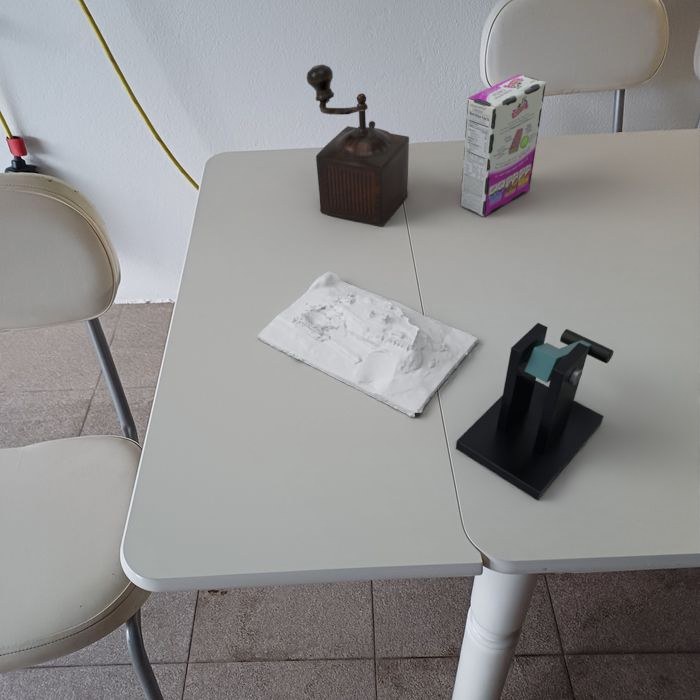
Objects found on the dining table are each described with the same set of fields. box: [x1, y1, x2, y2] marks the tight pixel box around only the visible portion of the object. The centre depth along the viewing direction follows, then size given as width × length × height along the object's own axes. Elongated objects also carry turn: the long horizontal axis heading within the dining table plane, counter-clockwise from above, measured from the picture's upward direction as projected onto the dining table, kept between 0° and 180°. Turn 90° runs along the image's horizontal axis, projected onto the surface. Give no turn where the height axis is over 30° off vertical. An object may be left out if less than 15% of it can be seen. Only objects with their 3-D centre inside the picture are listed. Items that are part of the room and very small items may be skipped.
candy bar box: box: [459, 74, 547, 218], centre depth 91 cm, size 11×5×16 cm, turn 132°
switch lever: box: [525, 328, 614, 383], centre depth 60 cm, size 12×5×2 cm, turn 137°
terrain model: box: [257, 271, 479, 418], centre depth 73 cm, size 17×23×5 cm
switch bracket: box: [455, 322, 604, 501], centre depth 59 cm, size 12×9×12 cm
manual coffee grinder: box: [306, 64, 410, 227], centre depth 92 cm, size 16×11×18 cm
